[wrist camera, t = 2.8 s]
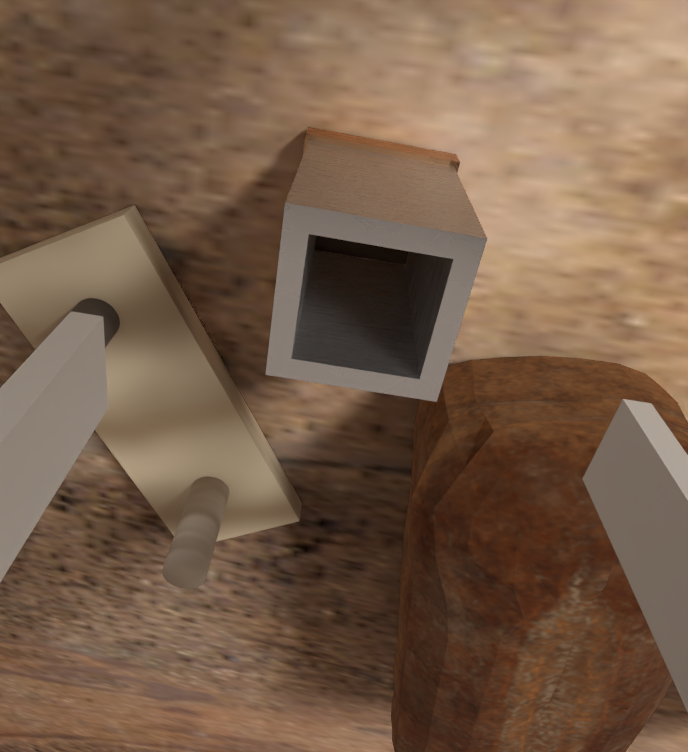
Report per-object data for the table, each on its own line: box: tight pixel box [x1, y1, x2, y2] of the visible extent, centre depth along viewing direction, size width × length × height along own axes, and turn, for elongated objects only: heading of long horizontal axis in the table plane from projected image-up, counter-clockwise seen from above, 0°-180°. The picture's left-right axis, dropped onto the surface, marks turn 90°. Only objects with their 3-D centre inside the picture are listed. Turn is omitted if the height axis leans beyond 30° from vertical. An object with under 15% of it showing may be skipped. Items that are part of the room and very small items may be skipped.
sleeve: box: [266, 127, 487, 402], centre depth 23 cm, size 6×6×10 cm
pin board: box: [0, 205, 302, 588], centre depth 30 cm, size 20×8×8 cm, turn 21°
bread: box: [391, 356, 688, 752], centre depth 33 cm, size 14×28×12 cm, turn 0°
